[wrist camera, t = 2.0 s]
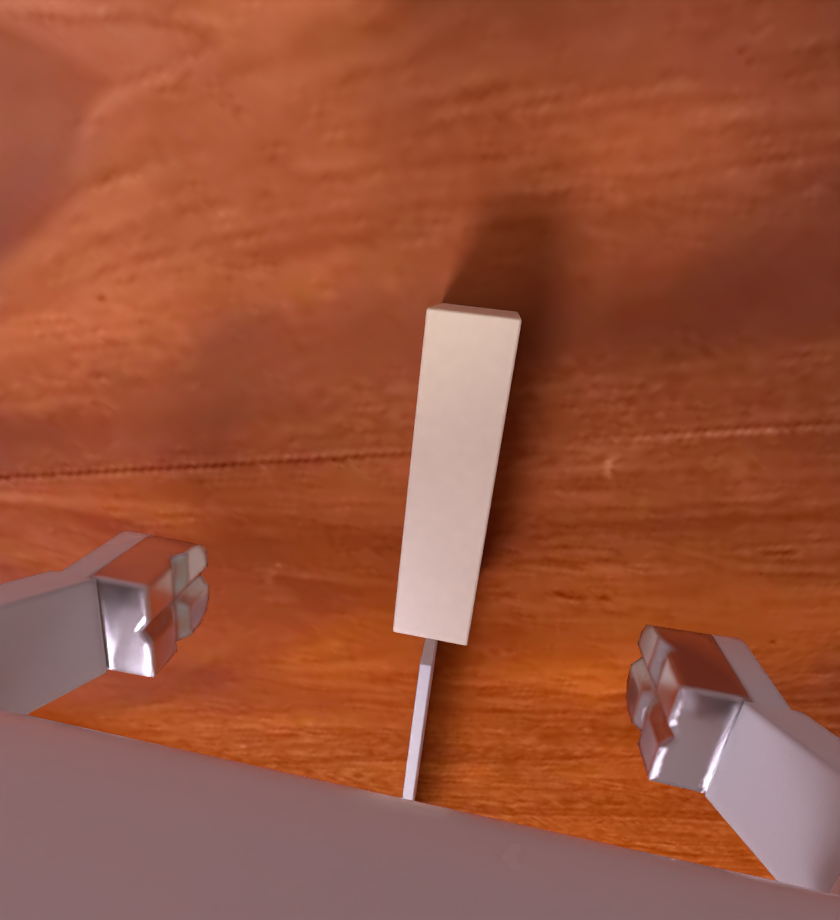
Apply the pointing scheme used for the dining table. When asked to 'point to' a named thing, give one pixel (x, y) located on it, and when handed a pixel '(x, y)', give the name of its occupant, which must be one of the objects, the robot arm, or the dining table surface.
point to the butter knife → (451, 484)
